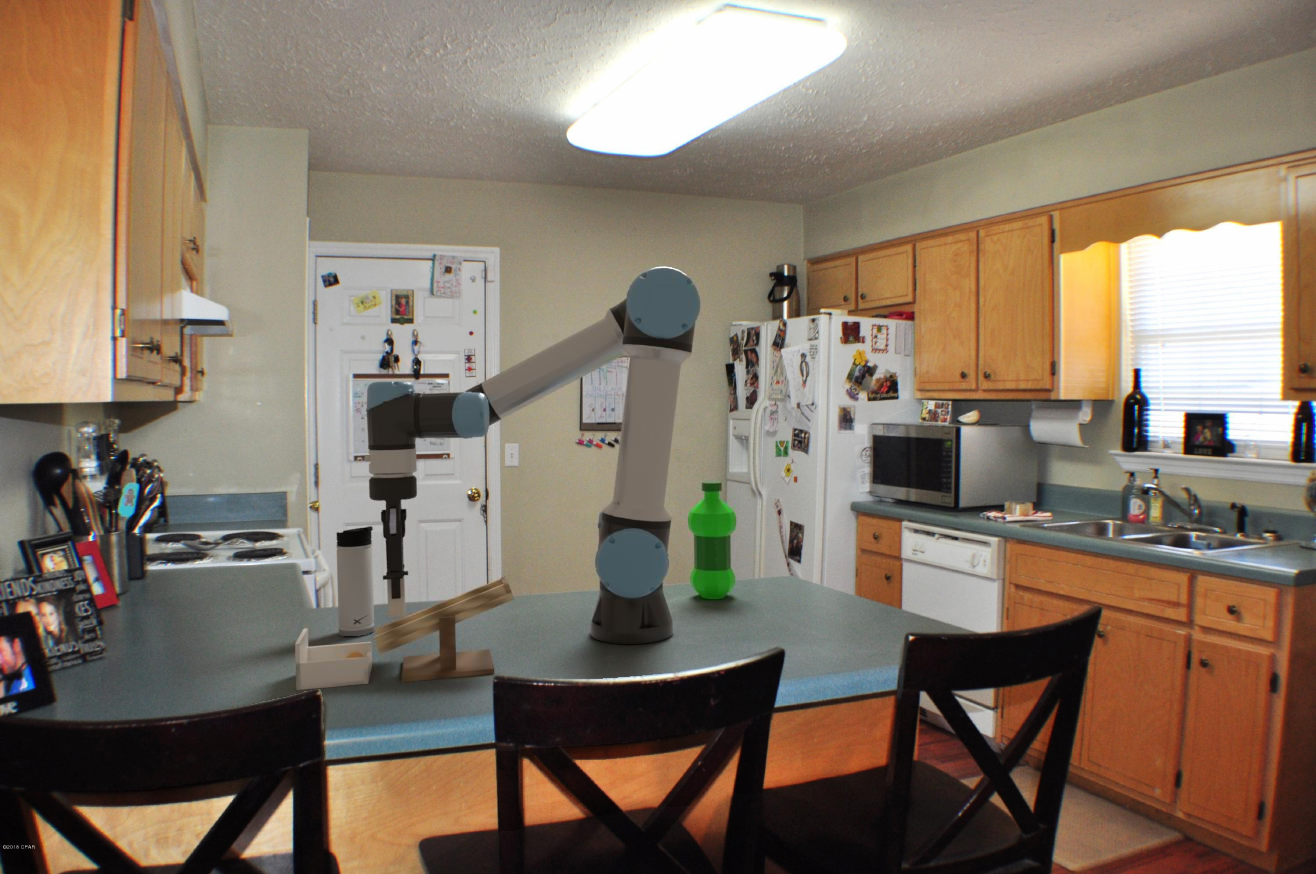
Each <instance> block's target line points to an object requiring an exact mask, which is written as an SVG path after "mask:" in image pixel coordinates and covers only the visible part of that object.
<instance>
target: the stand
mask: <svg viewBox="0 0 1316 874" xmlns="http://www.w3.org/2000/svg"><path fill="white" fill-rule="evenodd" d="M439 626H440V630H439V631H438V633H439V635H438V637H439V639H438V640H439V653H429V654H421V655H420V654H419V655H418V654H417V655H409V656H403V659H402V671H401V683H407V682H409V683H410V682H418V681H428V680H429V681H431V680H441V679H451V678H460V677H462V678H463V677H471V676H480V675H481V676H483V675H492V674H495V666H494V662H493V658H492V654H491V650H490V649H488V648H487V649H478V650H468V651H457V643H456V640H457V639H456V637H457V636H456V624H455V615H453V616H439Z"/></svg>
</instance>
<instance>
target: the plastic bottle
mask: <svg viewBox="0 0 1316 874" xmlns="http://www.w3.org/2000/svg"><path fill="white" fill-rule="evenodd" d="M701 491H702V492H704V493H703V494H704V498H702V500H700V501H699V502H698V503H697V504H696V505H694V507H693V508H692V509H690V511H689V513H688V516H687V524H688V529H689V530H690V531H691V533H692V534H693V554H694V555H693V557H694V558H693V560H694V562H693V564H694V567H692V570H691V573H690V576H689V582H690V584H691V587H692V588H693V590H695V592H696V593H697V594H698V595H699V596H700V597H701V598H702V599H706V600H720V599H724V598H726V596H727V595H728V594H729V593H730V592H731V591H732V590H733V588H734V586H735V584H736V576H735V573H734V571H733V568H732V561H731V560H732V558H731V556H732V555H731V554H732V553H731V552H732V550H731V543H732V542H731V534H733V533H734V531H735V530H736V528H737V527H736V526H737V515H736V513H735V510H733V509H732V508H731V507H730V506H729V505H728V504H727V503H726V502H725V501H723V500H722V499H721V498H720V492H722V491H723V489H722V482H721V481H703V482H701Z"/></svg>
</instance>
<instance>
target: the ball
mask: <svg viewBox="0 0 1316 874" xmlns="http://www.w3.org/2000/svg"><path fill="white" fill-rule="evenodd" d="M357 657H364V656H363V655H362V654H361V653H359V652H352V653H350V654H348V655H347V656H346V658H357Z"/></svg>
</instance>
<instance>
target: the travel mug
mask: <svg viewBox="0 0 1316 874" xmlns="http://www.w3.org/2000/svg"><path fill="white" fill-rule="evenodd" d="M373 530H374V529H373V526H372V525H371V526H366V527H359V528H358V527H357V528H352V529H346V530H343V531H342V532H339V531H337V532H335V533H336V541H337V542H336V575H337V577H336V578H337V608H338V609H337V611H338V615H337V616H338V634H339V635H340V636H341V637H344V636H358V635H364V636H366V635H365V634H368V633H371V632H372V633H374V631H375V608H374V603H375V602H374V601H375V600H374V573H373V572H374V571H373V566H374V565H373V564H374V563H373V547H372V546H373V543H372V542H373V541H372V531H373ZM372 633H371V634H372ZM368 635H369V634H368ZM358 637H359V636H358Z"/></svg>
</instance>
